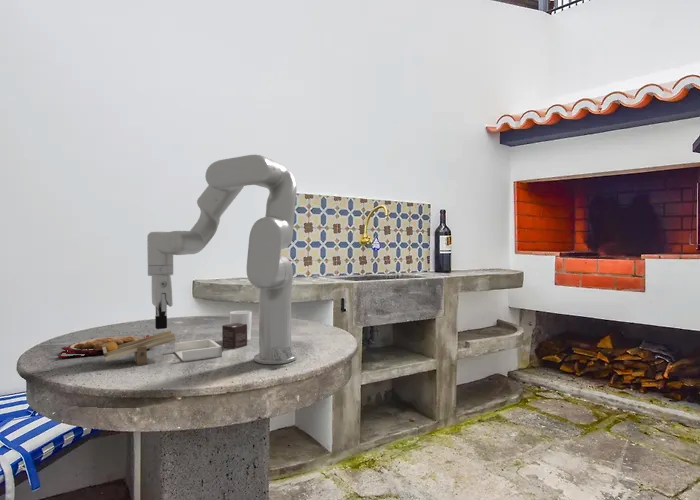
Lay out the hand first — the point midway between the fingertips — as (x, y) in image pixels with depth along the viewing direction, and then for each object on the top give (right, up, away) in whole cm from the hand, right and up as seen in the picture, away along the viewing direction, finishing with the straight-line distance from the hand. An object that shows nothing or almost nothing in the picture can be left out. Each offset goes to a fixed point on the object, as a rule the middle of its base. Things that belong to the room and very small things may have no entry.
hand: (161, 328), depth 145 cm
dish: (+12, -8, -1) cm, 14 cm away
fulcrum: (-2, -8, -9) cm, 13 cm away
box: (+21, -8, +10) cm, 25 cm away
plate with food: (-22, -9, +10) cm, 26 cm away
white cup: (+20, -8, +21) cm, 30 cm away
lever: (-4, -4, -6) cm, 9 cm away
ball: (-9, -3, -13) cm, 16 cm away
